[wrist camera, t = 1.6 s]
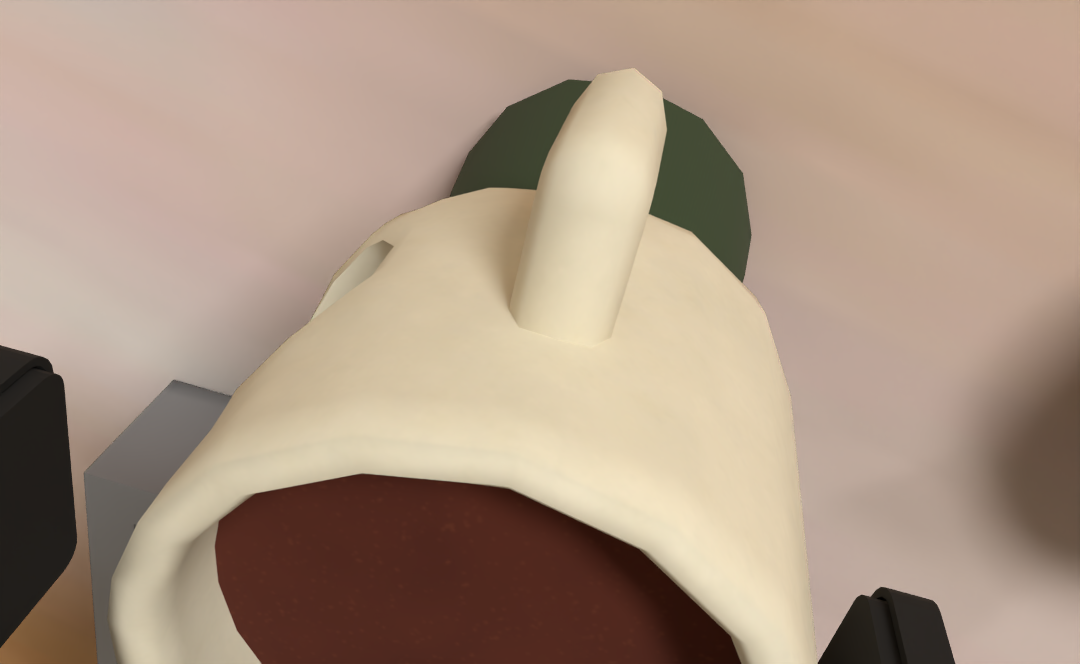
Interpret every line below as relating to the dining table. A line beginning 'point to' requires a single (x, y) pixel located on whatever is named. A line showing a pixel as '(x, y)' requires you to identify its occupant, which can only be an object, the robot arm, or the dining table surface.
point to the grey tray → (139, 482)
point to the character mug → (506, 430)
